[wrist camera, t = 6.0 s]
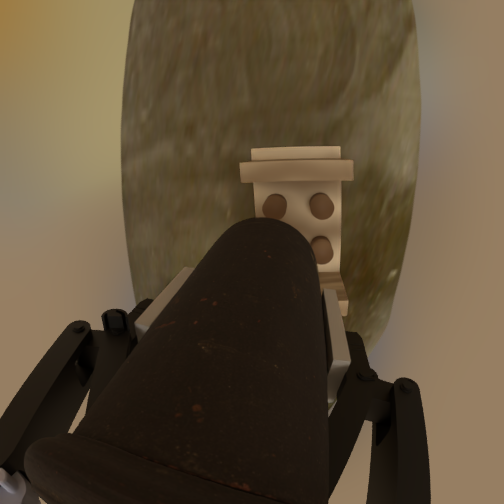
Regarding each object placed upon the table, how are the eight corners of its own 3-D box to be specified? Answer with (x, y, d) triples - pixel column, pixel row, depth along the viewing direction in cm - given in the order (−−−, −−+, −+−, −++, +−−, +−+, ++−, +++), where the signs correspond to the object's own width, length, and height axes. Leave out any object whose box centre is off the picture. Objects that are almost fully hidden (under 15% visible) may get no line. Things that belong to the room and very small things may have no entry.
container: (235, 331, 24) (149, 566, 5) (188, 236, 21) (-30, 451, 3) (335, 304, 22) (361, 587, 3) (297, 194, 19) (268, 614, 1)
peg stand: (252, 148, 35) (238, 147, 26) (338, 146, 33) (352, 144, 25) (261, 291, 41) (252, 326, 33) (337, 291, 40) (345, 326, 31)
